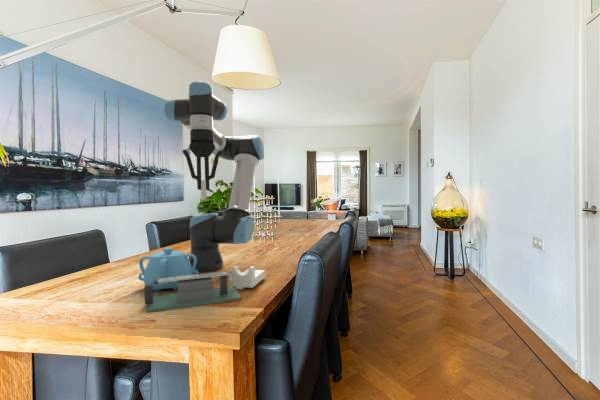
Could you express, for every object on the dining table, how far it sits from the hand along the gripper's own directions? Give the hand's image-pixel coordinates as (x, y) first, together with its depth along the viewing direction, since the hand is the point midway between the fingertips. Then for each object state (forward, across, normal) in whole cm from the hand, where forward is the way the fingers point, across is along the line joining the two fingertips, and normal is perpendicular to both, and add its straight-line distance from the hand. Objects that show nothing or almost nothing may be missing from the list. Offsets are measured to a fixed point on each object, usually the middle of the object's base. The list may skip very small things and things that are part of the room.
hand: (203, 199), depth 111 cm
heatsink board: (+30, -4, -11) cm, 33 cm away
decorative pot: (+31, -12, +7) cm, 34 cm away
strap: (+26, -4, -11) cm, 28 cm away
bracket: (+31, +15, -1) cm, 34 cm away
